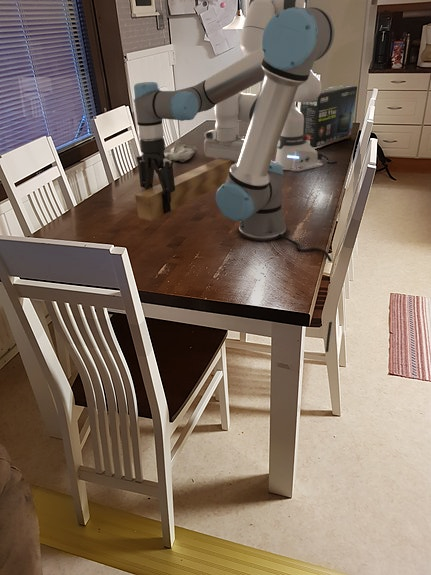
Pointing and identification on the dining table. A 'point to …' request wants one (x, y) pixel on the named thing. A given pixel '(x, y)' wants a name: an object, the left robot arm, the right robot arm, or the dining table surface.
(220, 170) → the post
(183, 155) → the fossil
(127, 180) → the dining table surface
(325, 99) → the router box
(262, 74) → the left robot arm
